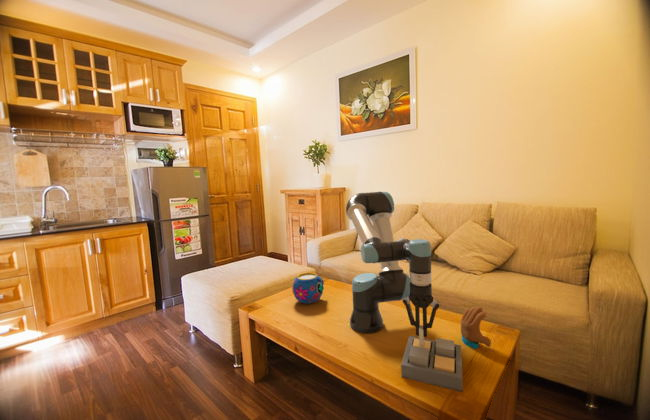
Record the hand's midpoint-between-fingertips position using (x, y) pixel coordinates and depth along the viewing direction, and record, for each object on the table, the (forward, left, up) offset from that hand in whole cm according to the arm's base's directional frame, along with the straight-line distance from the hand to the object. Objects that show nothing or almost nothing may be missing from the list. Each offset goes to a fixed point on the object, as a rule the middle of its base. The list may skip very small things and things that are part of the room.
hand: (421, 343), depth 102 cm
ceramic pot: (-64, +30, -6) cm, 71 cm away
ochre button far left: (0, 0, -4) cm, 4 cm away
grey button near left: (0, -8, -2) cm, 8 cm away
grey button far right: (+8, 0, -2) cm, 8 cm away
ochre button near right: (+8, -8, -4) cm, 12 cm away
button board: (+4, -4, -5) cm, 8 cm away
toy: (+18, +16, -6) cm, 24 cm away
